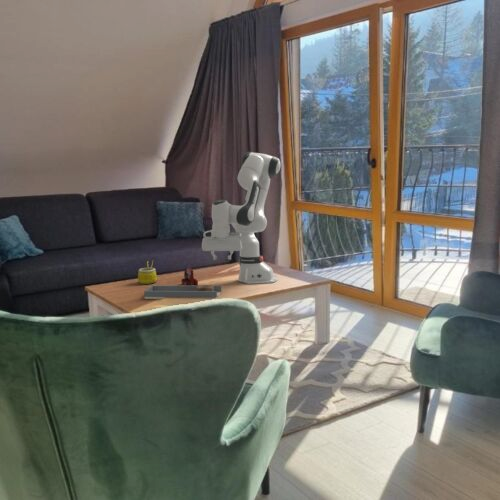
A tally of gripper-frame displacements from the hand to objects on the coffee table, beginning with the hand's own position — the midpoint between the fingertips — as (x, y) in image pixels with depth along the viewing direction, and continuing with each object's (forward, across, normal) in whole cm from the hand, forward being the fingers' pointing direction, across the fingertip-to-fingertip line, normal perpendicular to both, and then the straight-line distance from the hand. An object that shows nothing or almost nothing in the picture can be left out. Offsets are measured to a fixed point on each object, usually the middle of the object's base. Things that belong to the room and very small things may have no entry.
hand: (222, 259), depth 291 cm
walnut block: (+18, +10, 0) cm, 21 cm away
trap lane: (+19, +22, 0) cm, 29 cm away
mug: (+20, +50, -29) cm, 61 cm away
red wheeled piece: (+20, +24, -21) cm, 37 cm away
